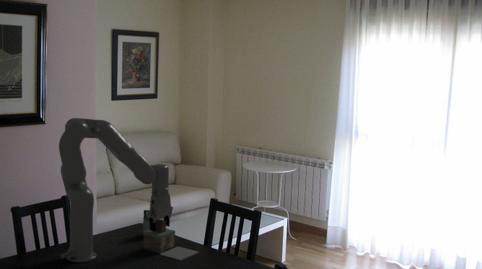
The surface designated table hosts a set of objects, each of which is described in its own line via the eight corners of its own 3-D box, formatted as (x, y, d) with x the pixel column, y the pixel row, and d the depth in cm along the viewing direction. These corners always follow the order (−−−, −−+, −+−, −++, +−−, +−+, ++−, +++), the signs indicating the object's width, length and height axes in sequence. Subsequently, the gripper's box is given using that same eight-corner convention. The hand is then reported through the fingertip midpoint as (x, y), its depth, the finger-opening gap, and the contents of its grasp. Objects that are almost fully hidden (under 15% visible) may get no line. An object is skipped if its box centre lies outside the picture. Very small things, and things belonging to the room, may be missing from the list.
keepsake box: (160, 253, 248) (160, 238, 247) (143, 249, 254) (143, 234, 253) (174, 247, 256) (174, 233, 256) (158, 243, 262) (158, 229, 261)
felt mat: (180, 260, 240) (180, 259, 240) (159, 254, 246) (159, 253, 246) (198, 252, 251) (198, 251, 251) (178, 247, 257) (178, 246, 257)
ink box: (158, 234, 275) (159, 208, 274) (156, 237, 271) (157, 210, 270) (145, 234, 276) (145, 207, 274) (142, 236, 272) (143, 209, 270)
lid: (160, 240, 247) (160, 225, 246) (143, 236, 253) (143, 221, 252) (175, 235, 256) (175, 220, 255) (158, 231, 261) (158, 216, 260)
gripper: (153, 196, 242) (153, 234, 245) (178, 189, 257) (178, 225, 259) (140, 193, 247) (140, 231, 249) (166, 187, 261) (165, 222, 263)
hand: (159, 228), depth 254 cm, fingers open, 9 cm apart
